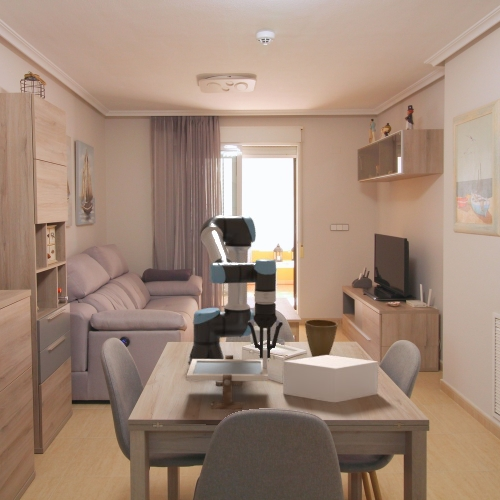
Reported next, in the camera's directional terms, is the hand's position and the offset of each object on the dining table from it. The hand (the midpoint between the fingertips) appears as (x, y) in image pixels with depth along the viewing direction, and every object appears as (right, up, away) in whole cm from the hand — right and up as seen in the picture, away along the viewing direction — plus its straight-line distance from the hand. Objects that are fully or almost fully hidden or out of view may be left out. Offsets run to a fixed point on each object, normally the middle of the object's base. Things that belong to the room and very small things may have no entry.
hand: (264, 366), depth 190 cm
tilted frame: (-13, -1, 0) cm, 13 cm away
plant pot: (+27, -7, +52) cm, 60 cm away
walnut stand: (-13, -10, +1) cm, 17 cm away
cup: (+6, -8, +41) cm, 43 cm away
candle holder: (-1, -7, +58) cm, 58 cm away
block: (+24, -11, +3) cm, 27 cm away
